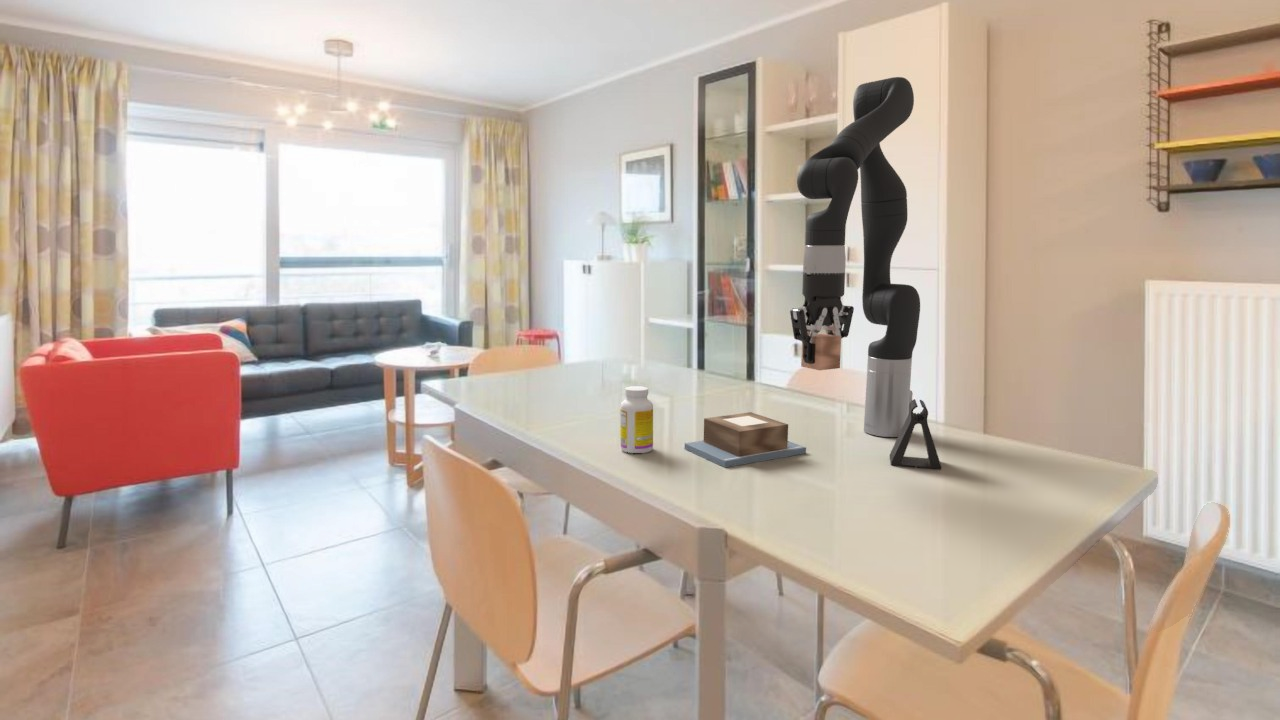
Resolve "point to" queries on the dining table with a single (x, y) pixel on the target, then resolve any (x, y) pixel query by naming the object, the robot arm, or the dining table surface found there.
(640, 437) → the supplement bottle
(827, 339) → the terracotta block
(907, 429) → the phone stand
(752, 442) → the base
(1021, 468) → the dining table surface
